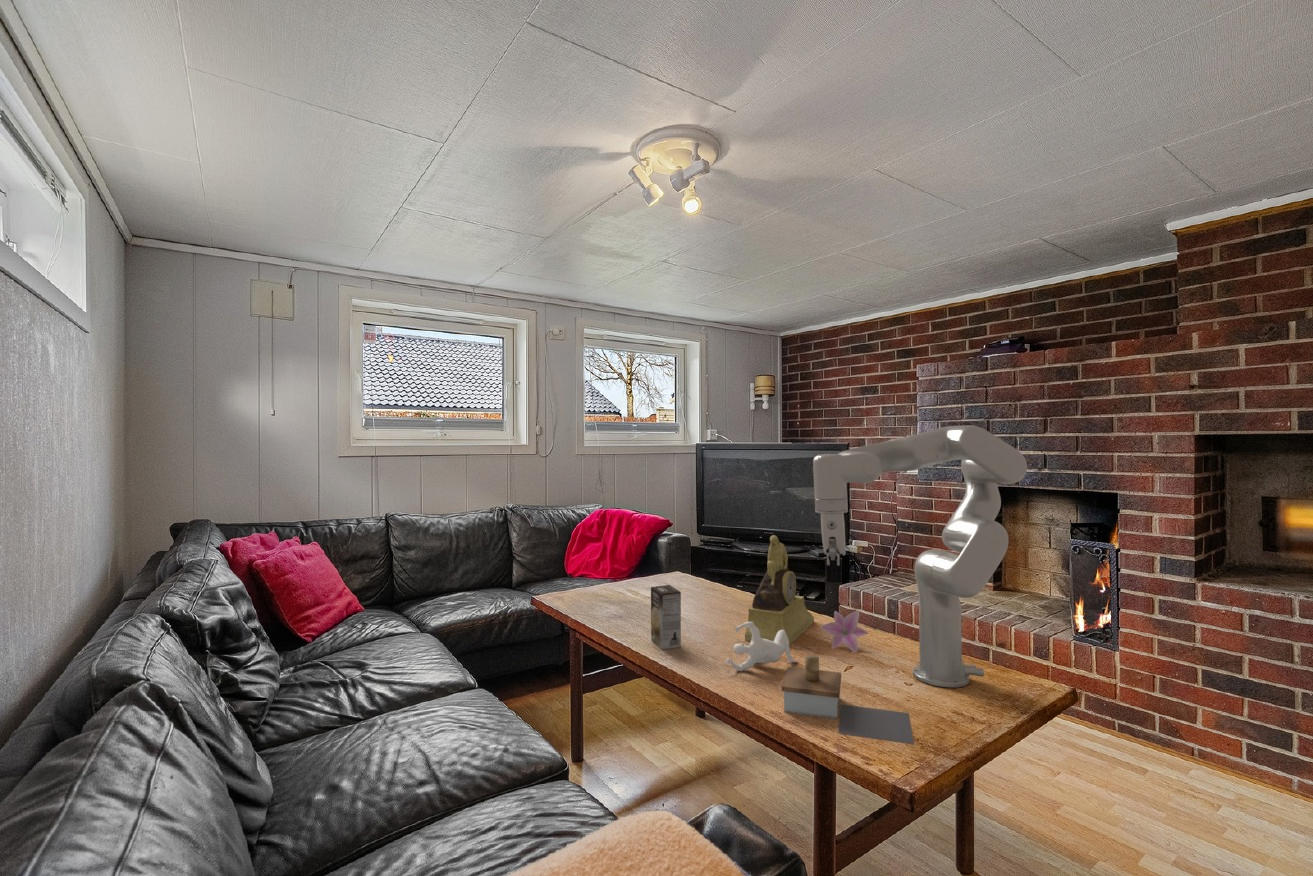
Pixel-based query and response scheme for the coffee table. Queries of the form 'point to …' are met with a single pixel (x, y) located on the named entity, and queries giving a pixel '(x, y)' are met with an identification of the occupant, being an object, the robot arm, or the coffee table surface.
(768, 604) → the decorative clock
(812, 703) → the grey square box
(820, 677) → the lid
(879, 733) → the mat
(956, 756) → the coffee table surface
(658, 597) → the coffee box
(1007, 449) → the robot arm
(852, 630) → the lily
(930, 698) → the coffee table surface
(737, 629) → the person figurine
